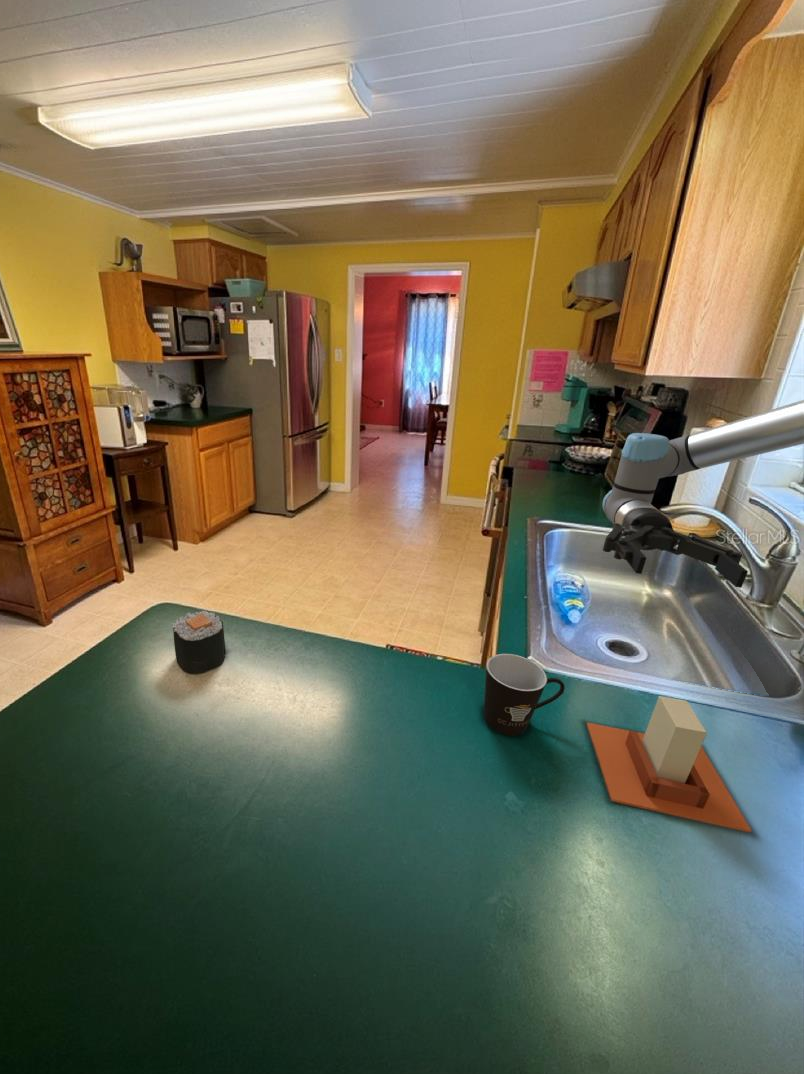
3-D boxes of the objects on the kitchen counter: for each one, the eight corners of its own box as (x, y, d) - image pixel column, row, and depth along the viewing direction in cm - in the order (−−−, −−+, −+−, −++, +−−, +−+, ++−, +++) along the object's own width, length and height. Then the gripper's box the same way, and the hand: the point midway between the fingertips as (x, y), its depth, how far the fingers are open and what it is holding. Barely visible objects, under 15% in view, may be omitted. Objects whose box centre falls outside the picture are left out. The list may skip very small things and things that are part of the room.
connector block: (664, 755, 68) (687, 700, 64) (681, 790, 62) (707, 732, 59) (638, 750, 68) (659, 695, 65) (653, 784, 63) (676, 726, 59)
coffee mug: (471, 733, 71) (482, 679, 68) (480, 698, 79) (490, 648, 75) (553, 760, 67) (569, 705, 64) (554, 720, 75) (569, 669, 71)
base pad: (698, 750, 71) (706, 731, 69) (748, 837, 58) (760, 816, 57) (585, 728, 74) (590, 709, 72) (609, 806, 61) (617, 785, 60)
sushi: (210, 640, 89) (207, 603, 86) (232, 661, 84) (231, 623, 81) (168, 656, 84) (164, 617, 81) (189, 680, 79) (185, 639, 76)
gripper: (708, 552, 89) (775, 607, 69) (569, 534, 93) (595, 581, 74) (722, 515, 86) (796, 561, 67) (578, 498, 91) (607, 537, 71)
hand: (690, 572), depth 70 cm, fingers open, 13 cm apart
